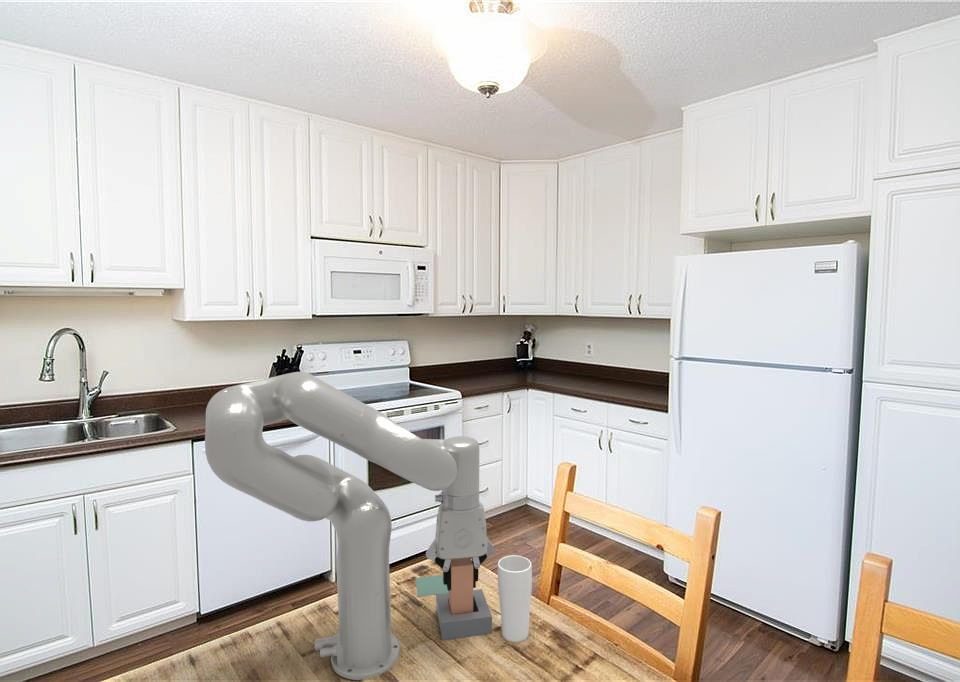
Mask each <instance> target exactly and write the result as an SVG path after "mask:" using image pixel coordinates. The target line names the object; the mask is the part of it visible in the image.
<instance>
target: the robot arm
mask: <svg viewBox="0 0 960 682" xmlns="http://www.w3.org/2000/svg"><path fill="white" fill-rule="evenodd" d="M285 420H289V422H290V421H291V422H292V423H293V424H295V425H297V426H298V427H301V428H303V429H305V430H307V431H308V432H312V433H313V434H316V435H318V436H319V437H322V438H324V439H326V440H328V441H330V442H332V443H334V444H337V445H338V446H340V447H342V448H344V449H347V450H348V451H350V452H352V453H354V454H356V455H358V456H360V458H363V459H365V460H367V461H369V462H371V463H374V464H376V465H378V466H380V467H382V468H384V469H386V470H388V471H389V472H392V473H393V474H395V475H397V476H399V477H401V478H402V479H404V480H407V481H409V482H411V483H413V484H415V485H418V486H419V487H422V488H424V489H426V490H428V491H432V492H438V491H440V493H438V494H435V495H434V502H436V503H440V504H439V506H438V508H437V516H436V524H435V537H434V540H433V542H432V543H431V544H430V545H429V547H428V548H427V550H426V552H425V557H426V558H427V559H428V560H430V561H432V562H434V563H435V564H436V565H437V566H439V568H441V569H442V575H443V583H444V585H447V589H448V591H450V590H451V570H450V562H451V559H461V558H471V560H472V563H473V589H476V588H477V582H479V569H480V568H481V565H482V564H483V563H484V562H485V561H486V560H487V558H488V557H490V556H491V555H492V554H494V553H495V552H496V548H495V546H494V544H493V543H492V542H491V540H490V539H489V538H488V536H487V522H486V513H485V509H484V505H483V504H482V502H480V444H479V442H478V440H477V439H475V438H473V437H471V436H465V435H464V436H463V435H462V436H460V435H459V436H452V437H448V438H444V439H443V438H442V439H436V438H434V439H432V438H421V437H420V436H417V435H415V434H414V433H412V431H411V432H410V431H409V430H407V429H406V428H404V427H403V426H400V425H399V424H398V423H396V422H395V421H394V420H392V419H391V418H390V417H388V416H387V415H385V414H384V413H382V412H381V411H378V410H377V408H376V409H375V408H374V407H372V406H370V405H368V404H366V403H364V402H363V401H360V400H359V399H356V398H355V397H353V396H351V395H349V394H347V393H345V392H343V391H342V390H340V389H339V388H336V387H334V386H332V385H330V383H329V384H328V383H327V382H325V381H324V380H321V379H320V378H318V377H317V376H314V374H311V373H310V372H305V371H295V372H289V373H285V374H284V373H283V374H281V375H276V376H271V377H267V378H263V379H259V380H255V381H250V382H246V383H240V384H236V385H233V386H229V387H226V388H223V389H221V390H219V391H218V392H217V393H215V394H214V395H213V396H212V397H211V398H210V400H209V401H208V403H207V406H206V408H205V429H204V431H205V434H204V448H205V449H204V450H205V451H204V452H205V456H206V461H207V463H208V465H209V467H210V469H211V470H212V472H213V473H214V474H215V476H216V477H217V478H218V479H219V480H221V482H223V483H224V484H226V485H228V486H229V487H231V488H232V489H233V488H234V489H235V490H237V491H240V492H242V493H243V494H245V495H248V496H250V497H253V498H255V499H256V500H258V501H260V502H262V503H263V504H266V505H268V506H271V507H273V508H275V509H278V510H279V511H281V512H284V513H285V514H288V515H290V516H292V517H293V518H295V519H298V520H301V521H303V522H307V523H308V522H318V521H322V520H324V519H326V520H328V521H330V523H331V524H332V527H333V528H334V530H335V533H336V536H337V553H336V584H337V585H336V587H337V608H338V609H337V611H338V630H337V634H332V636H331V637H326V638H325V637H322V638H321V637H320V638H315V639H314V651H315V652H316V651H319V655H320V658H324V657H328V656H331V657H330V658H331V659H330V660H331V661H330V663H331V667H332V669H333V671H334V673H335V674H337V675H339V676H341V677H342V678H345V679H347V680H355V681H362V680H365V679H369V678H373V677H377V676H380V675H382V674H383V673H385V672H386V671H388V670H389V669H391V668H392V667H393V666H394V665H395V664H396V663H397V662H398V659H399V658H400V652H401V647H400V642H399V640H398V639H397V638H396V636H394V635H393V634H392V616H391V613H392V612H391V583H390V582H391V578H390V575H391V574H390V546H391V545H390V544H391V537H392V536H391V535H392V517H391V514H390V510H389V508H388V506H387V504H386V503H385V502H384V500H383V499H382V498H381V497H380V496H379V495H378V494H377V492H375V490H373V488H371V486H369V485H368V483H367V482H365V481H364V480H362V479H361V478H358V477H357V476H355V475H353V474H350V473H349V472H347V471H346V470H343V469H341V468H339V467H337V466H335V465H333V464H332V463H329V462H328V461H325V460H324V459H322V458H319V457H318V456H315V455H309V454H300V455H296V456H293V455H290V454H289V453H287V452H286V451H284V450H281V449H279V448H277V447H275V446H272V445H270V444H268V443H267V442H266V441H265V439H264V436H263V429H264V426H269V425H272V424H275V423H279V422H283V421H285Z"/></svg>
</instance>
